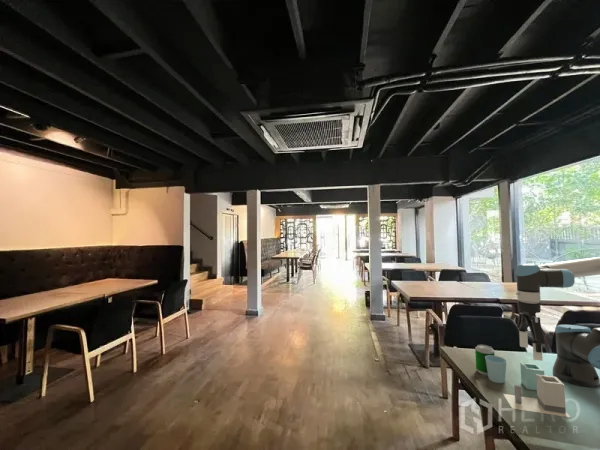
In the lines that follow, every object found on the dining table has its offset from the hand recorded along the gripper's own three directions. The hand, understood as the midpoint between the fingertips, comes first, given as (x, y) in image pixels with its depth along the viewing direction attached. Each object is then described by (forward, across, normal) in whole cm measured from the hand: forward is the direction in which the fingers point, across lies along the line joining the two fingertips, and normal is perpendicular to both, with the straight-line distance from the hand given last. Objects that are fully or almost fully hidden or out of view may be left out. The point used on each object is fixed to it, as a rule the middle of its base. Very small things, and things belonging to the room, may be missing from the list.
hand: (530, 353), depth 118 cm
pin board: (+16, +14, -4) cm, 21 cm away
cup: (+16, -3, -12) cm, 20 cm away
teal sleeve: (+15, 0, 0) cm, 15 cm away
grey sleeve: (+14, +14, +1) cm, 20 cm away
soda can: (+16, -12, -14) cm, 24 cm away
